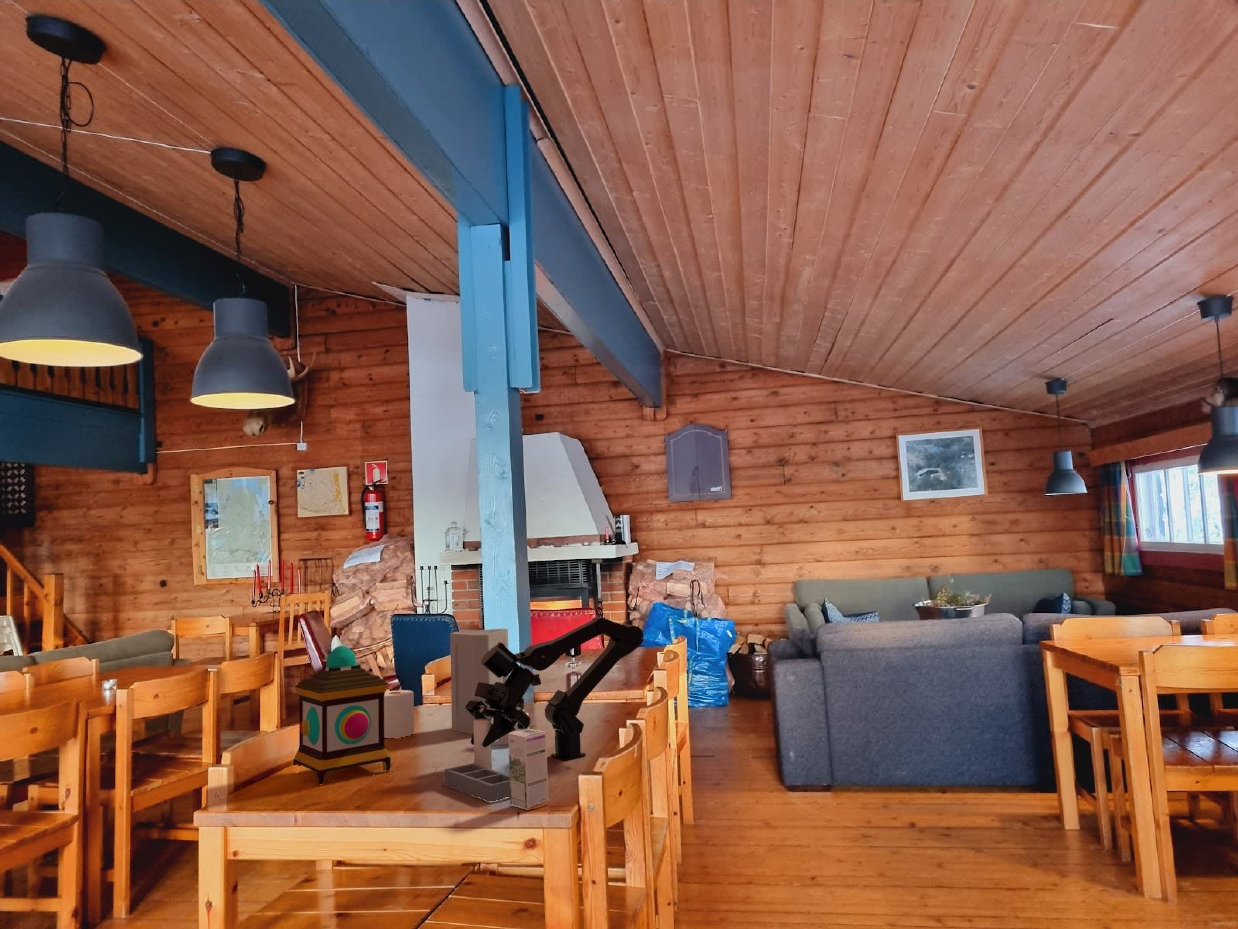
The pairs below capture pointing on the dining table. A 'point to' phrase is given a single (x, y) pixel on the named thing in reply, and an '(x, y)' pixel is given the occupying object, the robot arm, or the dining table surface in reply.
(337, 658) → the decorative lantern
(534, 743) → the syrup box
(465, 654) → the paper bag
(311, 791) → the dining table surface
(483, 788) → the caddy
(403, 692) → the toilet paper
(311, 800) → the dining table surface
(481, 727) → the beige tapered cylinder
